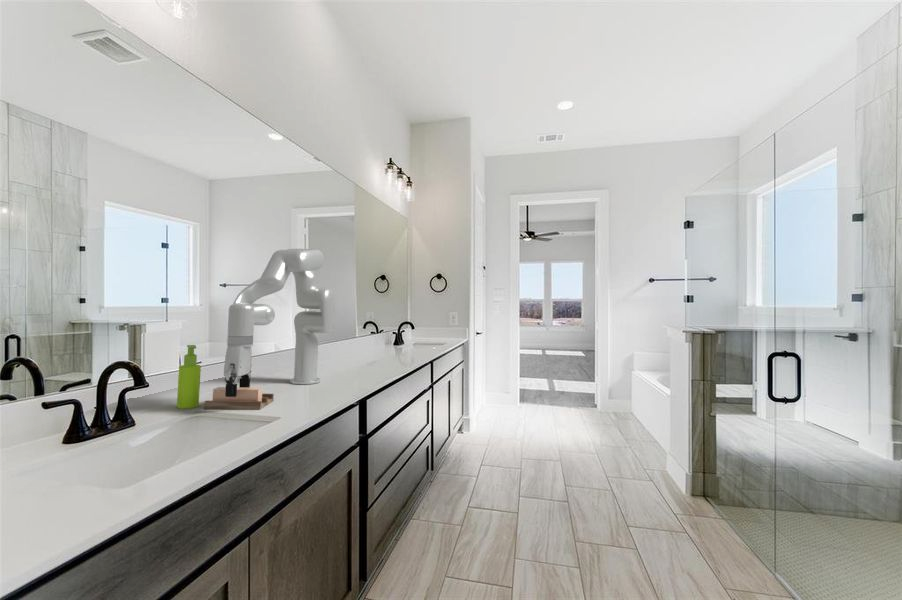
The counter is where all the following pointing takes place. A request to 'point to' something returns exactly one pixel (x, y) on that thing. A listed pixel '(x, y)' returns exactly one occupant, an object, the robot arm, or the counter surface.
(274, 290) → the robot arm
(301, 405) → the counter surface
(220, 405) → the drying rack
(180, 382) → the soap dispenser
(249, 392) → the pink rectangular block
